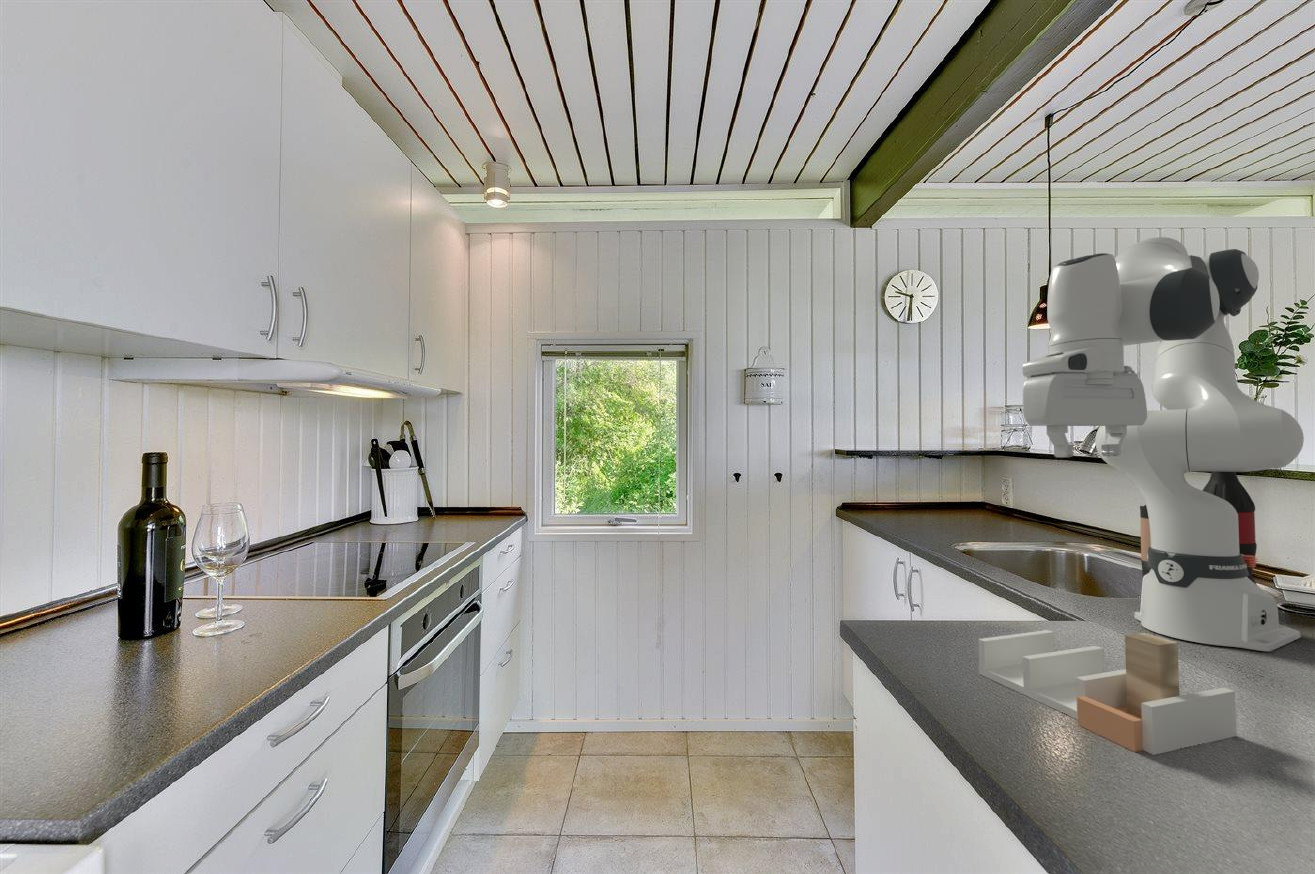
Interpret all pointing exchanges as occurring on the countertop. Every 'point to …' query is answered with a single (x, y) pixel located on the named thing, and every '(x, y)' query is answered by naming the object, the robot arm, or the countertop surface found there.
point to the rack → (1104, 694)
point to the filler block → (1150, 670)
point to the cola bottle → (1237, 509)
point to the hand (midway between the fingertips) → (1087, 456)
